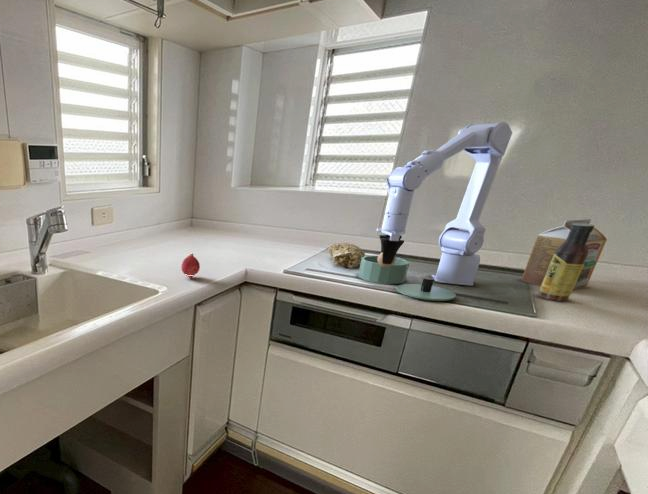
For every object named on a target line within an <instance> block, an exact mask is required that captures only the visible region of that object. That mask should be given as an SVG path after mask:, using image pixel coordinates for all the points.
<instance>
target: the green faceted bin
mask: <svg viewBox="0 0 648 494" xmlns="http://www.w3.org/2000/svg"><path fill="white" fill-rule="evenodd" d="M378 256H379V255H365V256H364V257H362V259H361V263H360V264H359V269H358V274H357V275H358V278H359V279H361V280H363V281H365V282H370V283H375V284H381V285H382V284H383V285H401V284H403V283H405V281H406V278H407V275H408V271H409V267H410V262H409V260H406V259H404V258H400V257H396V261H395V263H394V264H393V265H391V266H389V267H383V266H381V265H380V264H379V263H378V260H377V259H378Z"/></svg>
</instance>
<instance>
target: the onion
mask: <svg viewBox="0 0 648 494" xmlns="http://www.w3.org/2000/svg"><path fill="white" fill-rule="evenodd" d="M200 265H201V264H200V261H199V260H198V259H197V258H196V257H195V256H194V253H193V252H191V253H190V254H189V255H188V256H186V257H185V258H184V259H183V260H182V263H181V271H182V273H183V274H184V275H185V274H187V275H194V276H196V275H197V274H198V273H199V272H200V270H201V269H200V268H201V266H200ZM195 274H196V275H195ZM187 275H185V276H187ZM194 276H187V278H189V279H192V278H193V277H194Z"/></svg>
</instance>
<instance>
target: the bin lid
mask: <svg viewBox="0 0 648 494" xmlns="http://www.w3.org/2000/svg"><path fill="white" fill-rule="evenodd" d="M434 282H435V280H434V279H433V277H427V276H426V277H423V278H422V281H421V284H420V283H404V284H403V283H401V284H398V285H397V286H396V288H395V289H396V291H397V292H398V293H399V294H402V295H404V296H406V297H411V298H414V299H418V300H424V301H425V300H426V301H432V302H433V301H434V302H435V301H439V302H442V301H443V302H445V301H452V300H455V299H456V297H457V293H455V292H453V291H451V290H449V289H446V288H443V287H439V286H435V285H433V284H434Z"/></svg>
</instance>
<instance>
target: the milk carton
mask: <svg viewBox="0 0 648 494" xmlns="http://www.w3.org/2000/svg"><path fill="white" fill-rule="evenodd" d="M591 221H592V219H591V218H584V219H568V220H567V219H566V220H565V221H564V222H563V225H560V226H557V227H553V228H551V229H548V230H544V231H543V232H541V233H539V234H537V236H536V239H535V242H534V244H533V247H532V249H531V252H530V255H529V257H528V260H527V264H526V266H525V269H524V271H523V274H522V277H521V279H520V281H521V282H525V283H530V284H533V285H537V286H541V285H542V282H543V280H544V277H545V274H546V272H547V269H548V267H549V265H550V262H551V260H552V257H553V255H554V253H555V252H556V251H557V249H558V248H559V247H560V246H561V245H562V244H563V243H564V242H565V241H566V239H567V237H568V235H569V232H570V227H571V225H572V224H574V223H582V224H590V223H591ZM587 240H588V241H587V242H586V246H587V248H588V255H587V257H586V260H585V262H584V266H583V268H582V270H581V273H580V275H579V277H578V280H577V282H576V284H575V286H574V289H573V290H575V289H582V288H587V286H588V284H589V282H590V279H591V277H592V275H593V273H594V270H595V268H596V266H597V263H598V261H599V259H600V257H601V254H602V252H603V249H604V248H605V245H606V243H607V241H608V239H607V237H606V236H605V234H604V233H602V232H601V231H600V230H599V229H598V228H596V227H594V228H593V231H592V232H591V233H590V235H589V237H588V239H587Z"/></svg>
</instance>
